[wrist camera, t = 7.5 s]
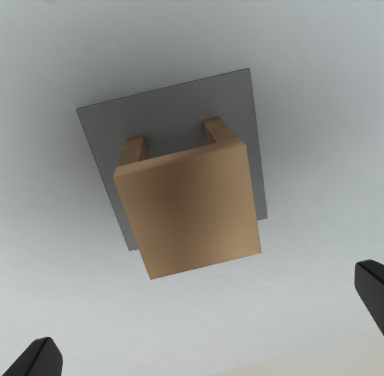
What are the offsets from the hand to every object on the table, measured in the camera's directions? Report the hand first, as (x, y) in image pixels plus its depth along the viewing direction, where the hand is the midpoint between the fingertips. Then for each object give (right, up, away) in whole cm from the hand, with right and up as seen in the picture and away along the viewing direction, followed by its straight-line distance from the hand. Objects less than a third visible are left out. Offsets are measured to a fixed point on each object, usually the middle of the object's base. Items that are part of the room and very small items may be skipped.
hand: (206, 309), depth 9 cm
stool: (-1, +5, +10) cm, 11 cm away
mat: (-1, +5, +10) cm, 12 cm away
